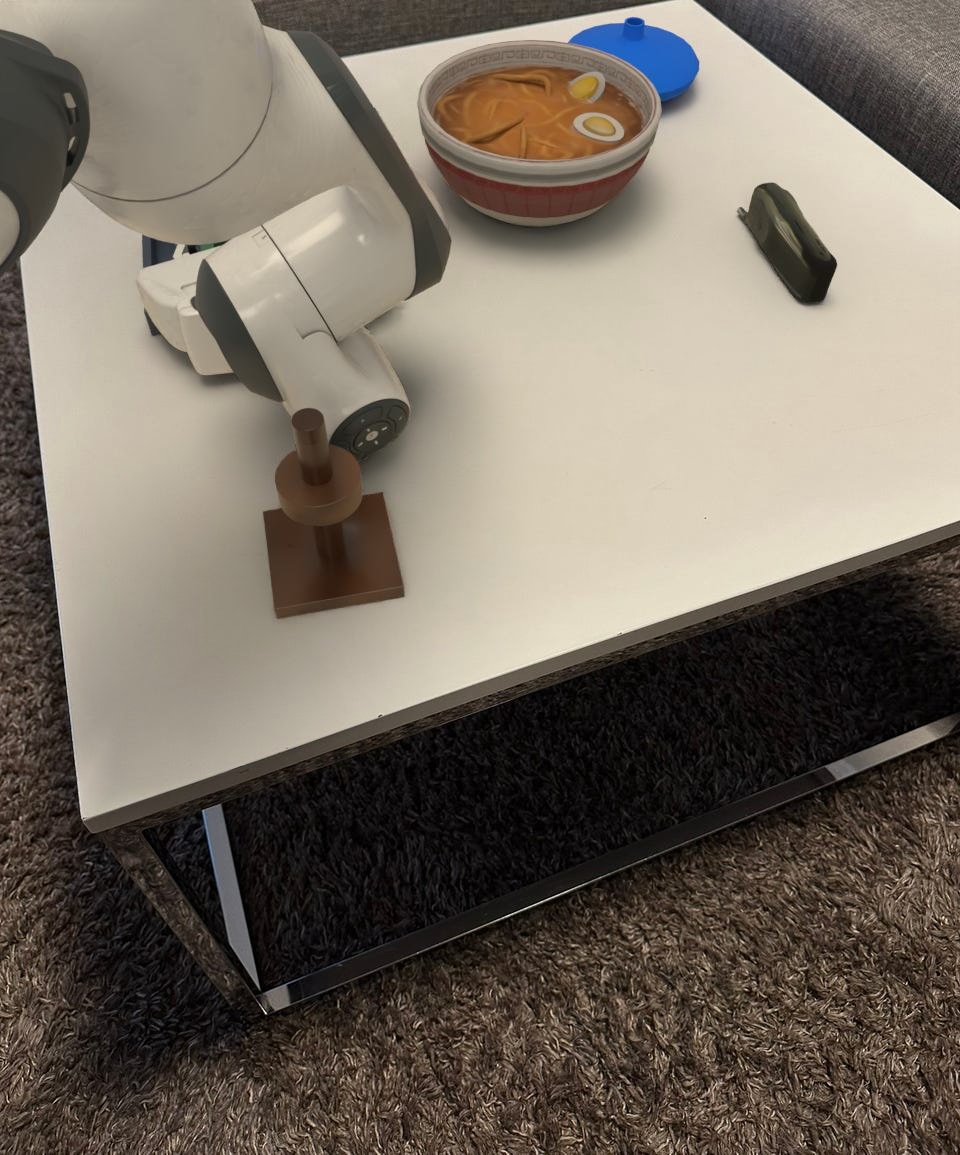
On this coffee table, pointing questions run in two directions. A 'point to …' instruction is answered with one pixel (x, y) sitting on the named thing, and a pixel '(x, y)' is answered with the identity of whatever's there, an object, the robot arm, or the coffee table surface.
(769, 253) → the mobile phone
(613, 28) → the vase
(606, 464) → the coffee table surface
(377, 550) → the peg stand
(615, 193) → the bowl
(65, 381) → the coffee table surface
